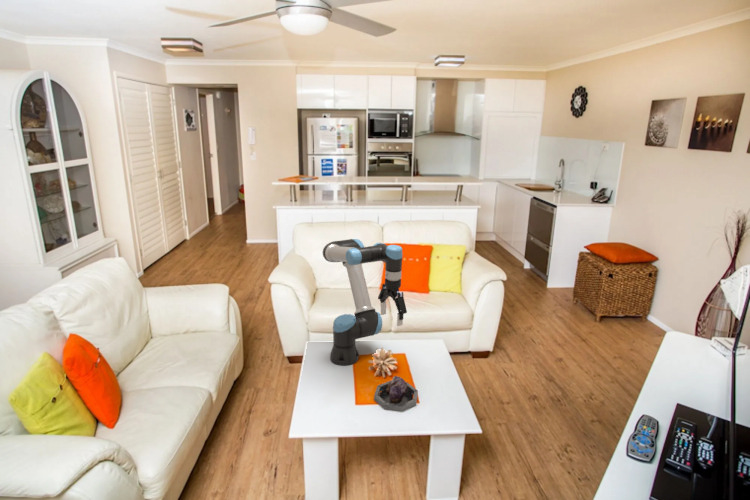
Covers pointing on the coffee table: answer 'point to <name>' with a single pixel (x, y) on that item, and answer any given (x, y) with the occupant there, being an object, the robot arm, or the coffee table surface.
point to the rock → (397, 389)
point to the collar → (403, 404)
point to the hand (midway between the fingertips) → (391, 319)
